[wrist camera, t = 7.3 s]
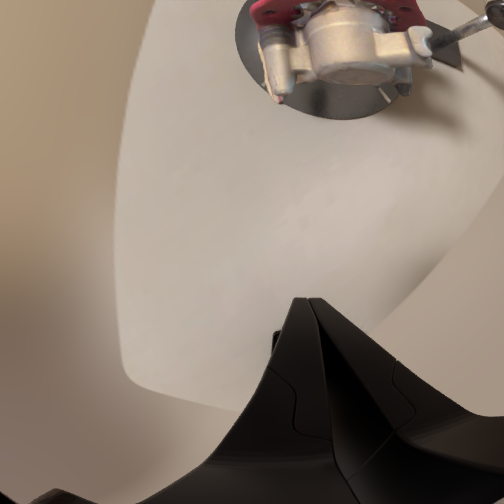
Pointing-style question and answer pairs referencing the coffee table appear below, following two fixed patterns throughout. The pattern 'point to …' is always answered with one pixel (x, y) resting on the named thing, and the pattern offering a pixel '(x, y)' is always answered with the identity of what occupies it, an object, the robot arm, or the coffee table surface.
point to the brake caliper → (340, 42)
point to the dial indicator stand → (463, 32)
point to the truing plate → (318, 92)
